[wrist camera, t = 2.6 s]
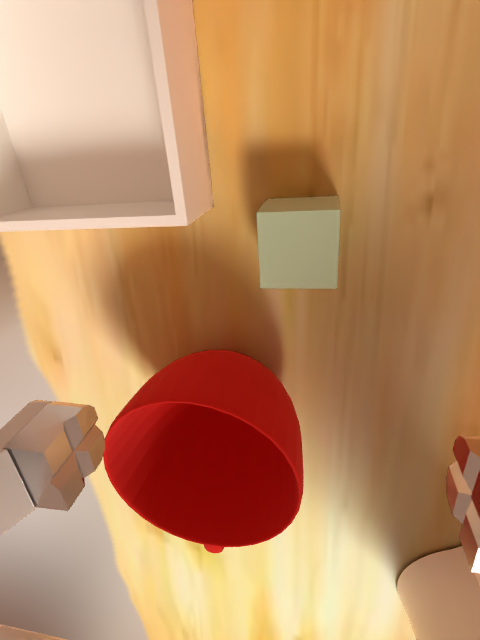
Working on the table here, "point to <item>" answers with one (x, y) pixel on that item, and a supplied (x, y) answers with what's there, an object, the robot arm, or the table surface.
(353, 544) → the table surface
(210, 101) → the table surface
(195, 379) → the ceramic cup
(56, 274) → the table surface
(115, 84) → the tub
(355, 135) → the table surface
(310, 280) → the sage cube
